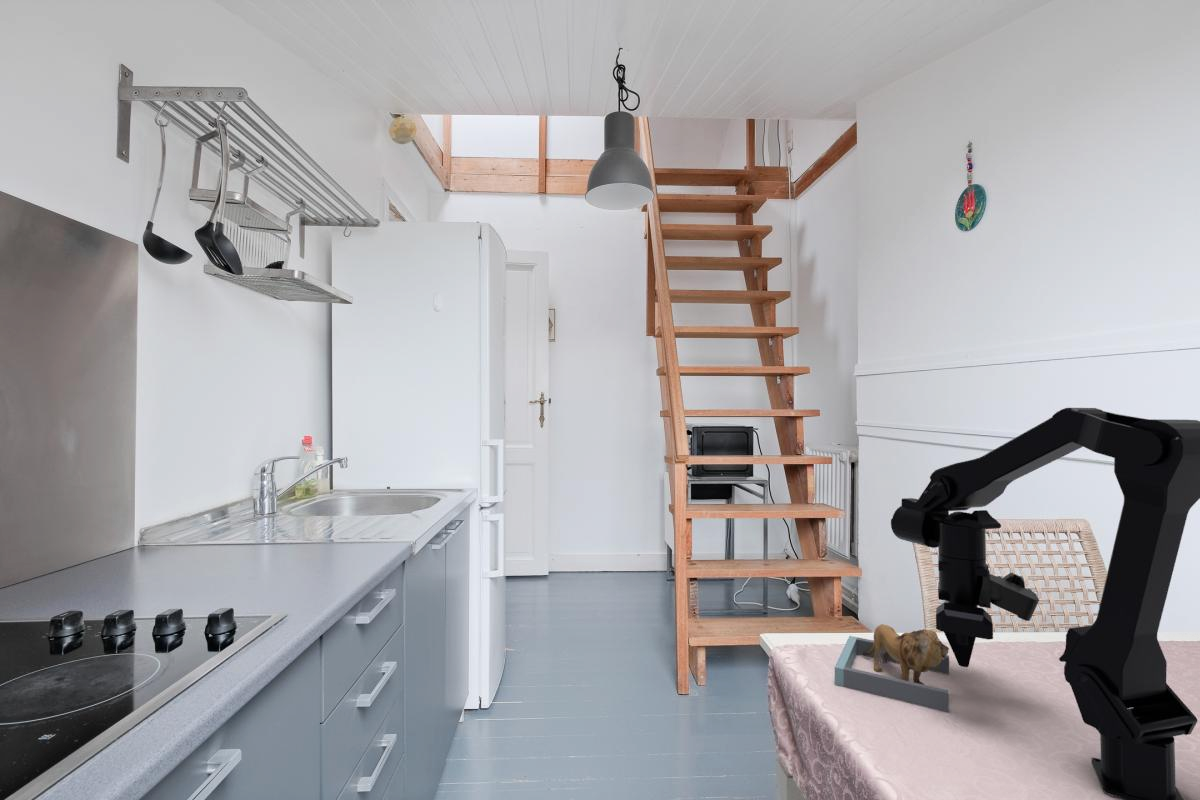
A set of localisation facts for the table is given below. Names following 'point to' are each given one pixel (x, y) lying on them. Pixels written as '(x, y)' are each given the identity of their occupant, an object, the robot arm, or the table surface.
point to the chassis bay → (888, 678)
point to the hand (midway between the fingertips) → (963, 665)
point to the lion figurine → (908, 650)
